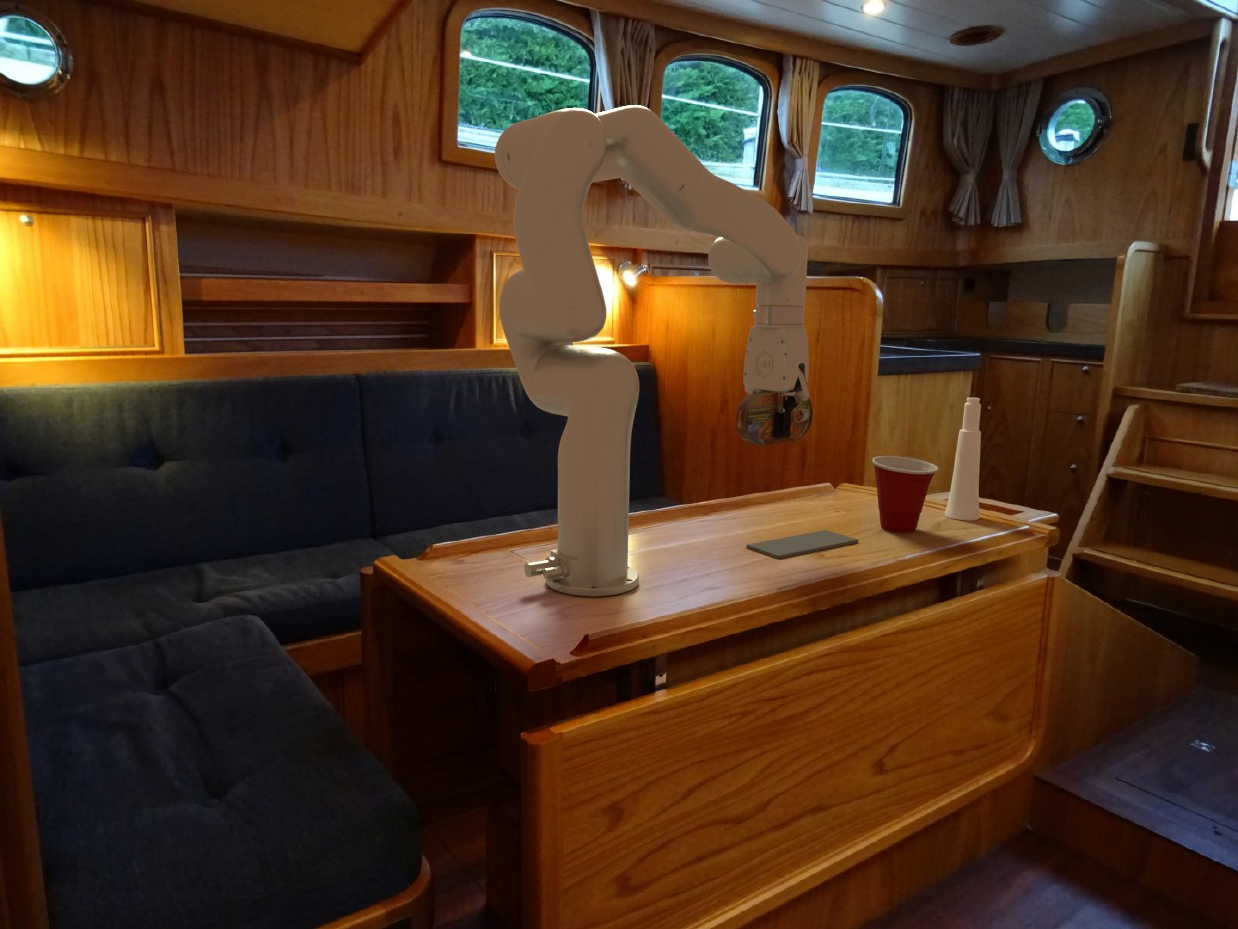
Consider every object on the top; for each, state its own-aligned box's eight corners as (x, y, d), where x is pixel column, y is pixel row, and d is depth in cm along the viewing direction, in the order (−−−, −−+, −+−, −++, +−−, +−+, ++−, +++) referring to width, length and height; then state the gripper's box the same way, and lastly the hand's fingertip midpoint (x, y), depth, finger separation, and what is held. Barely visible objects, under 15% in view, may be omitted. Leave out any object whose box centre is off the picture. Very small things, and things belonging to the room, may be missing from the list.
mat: (778, 558, 128) (778, 555, 128) (746, 547, 134) (746, 544, 134) (858, 542, 138) (858, 539, 138) (825, 532, 144) (825, 529, 144)
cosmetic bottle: (941, 517, 156) (952, 398, 152) (947, 511, 161) (958, 395, 157) (977, 522, 153) (989, 400, 149) (981, 515, 158) (993, 397, 154)
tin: (744, 448, 130) (748, 393, 128) (730, 445, 132) (734, 391, 130) (812, 440, 138) (816, 388, 136) (797, 437, 141) (801, 386, 139)
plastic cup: (907, 541, 140) (913, 469, 138) (853, 527, 148) (858, 459, 146) (945, 532, 146) (951, 463, 144) (892, 518, 155) (897, 453, 153)
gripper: (725, 316, 136) (721, 431, 139) (802, 319, 123) (796, 445, 126) (759, 316, 140) (754, 428, 143) (837, 319, 127) (829, 441, 130)
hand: (773, 435), depth 135 cm, fingers closed on tin, 2 cm apart
